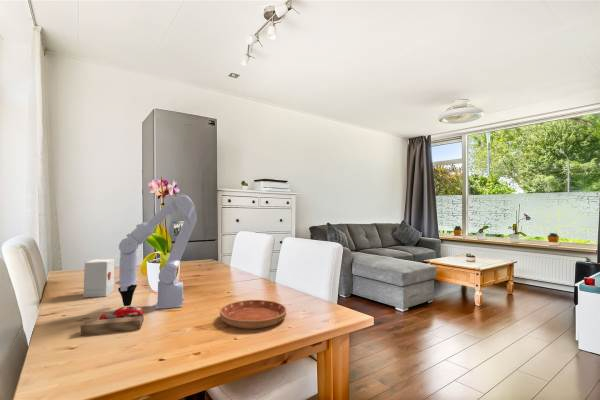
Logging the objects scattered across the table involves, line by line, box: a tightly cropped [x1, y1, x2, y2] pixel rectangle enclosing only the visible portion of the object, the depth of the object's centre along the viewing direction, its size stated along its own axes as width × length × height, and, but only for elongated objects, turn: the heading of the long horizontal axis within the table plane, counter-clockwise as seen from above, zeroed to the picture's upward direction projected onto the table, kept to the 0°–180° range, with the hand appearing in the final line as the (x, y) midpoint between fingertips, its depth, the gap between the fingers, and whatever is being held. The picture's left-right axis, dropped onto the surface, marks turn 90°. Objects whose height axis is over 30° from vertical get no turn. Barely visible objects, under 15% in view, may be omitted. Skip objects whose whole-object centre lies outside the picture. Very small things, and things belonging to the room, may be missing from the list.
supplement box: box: [82, 258, 115, 298], centre depth 136 cm, size 9×9×15 cm
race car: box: [98, 306, 144, 320], centre depth 106 cm, size 13×5×4 cm, turn 113°
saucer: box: [219, 299, 287, 330], centre depth 108 cm, size 23×23×4 cm
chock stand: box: [79, 315, 145, 337], centre depth 99 cm, size 16×8×3 cm, turn 108°
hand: (127, 305), depth 116 cm, fingers closed
